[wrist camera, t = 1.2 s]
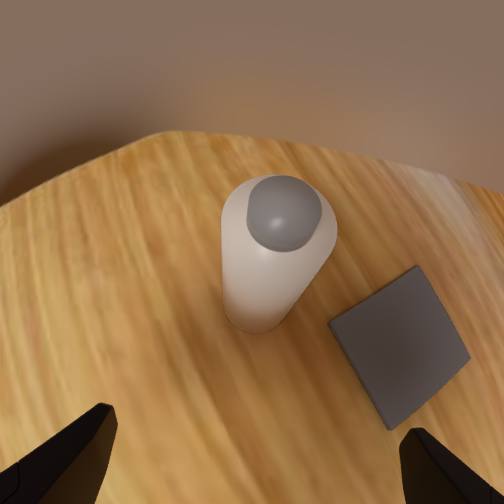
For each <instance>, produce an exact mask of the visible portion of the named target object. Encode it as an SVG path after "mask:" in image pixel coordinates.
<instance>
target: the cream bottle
mask: <svg viewBox="0 0 504 504" xmlns="http://www.w3.org/2000/svg"><path fill="white" fill-rule="evenodd" d="M221 235H222V284H223V307H224V311H225V314H226V316H227V318H228V319H229V321H230V322H231V323H232V324H233V325H234V326H235V327H237V328H238V329H240V330H242V331H244V332H247V333H253V334H259V333H265V332H268V331H270V330H272V329H274V328H275V327H276V326H278V325H279V324H280V323H281V321H282V320H283V319H284V317H285V316H286V315H287V313H288V312H289V311H290V309H291V308H292V307H293V305H294V304H295V303H296V301H297V300H298V299H299V297H300V296H301V294H302V293H303V292H304V290H305V289H306V288H307V286H308V285H309V283H310V282H311V281H312V279H313V278H314V277H315V275H316V274H317V272H318V271H319V270H320V268H321V267H322V265H323V264H324V262H325V261H326V260H327V258H328V257H329V255H330V254H331V252H332V250H333V248H334V246H335V243H336V239H337V221H336V217H335V214H334V211H333V209H332V207H331V205H330V204H329V202H328V201H327V200H326V198H325V197H324V196H323V195H322V194H321V193H320V192H319V191H318V190H317V189H315V188H314V187H313V186H311V185H310V184H308V183H306V182H304V181H302V180H300V179H297V178H294V177H291V176H286V175H277V174H271V175H263V176H258V177H255V178H252V179H250V180H247V181H246V182H244V183H242V184H241V185H239V186H238V187H237V188H236V189H235V190H234V191H233V192H232V193H231V194H230V196H229V197H228V199H227V201H226V202H225V205H224V208H223V211H222V217H221Z"/></svg>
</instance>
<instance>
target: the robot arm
mask: <svg viewBox="0 0 504 504" xmlns="http://www.w3.org/2000/svg"><path fill="white" fill-rule="evenodd" d="M117 426H118V423H117V418H116V414H115V410H114V407H113V406H112V405H109V404H105V403H98V404H97V405H95V406H94V407H93V408H91V409H90V410H89V411H87V412H86V413H85V414H83V415H82V416H80V417H79V418H78V419H76V420H75V421H74V422H72V423H71V424H69V425H68V426H67V427H65V428H64V429H63V430H61V431H60V432H58V433H57V434H56V435H54V436H53V437H51V438H50V439H49V440H47V441H46V442H44V443H43V444H42V445H40V446H39V447H37V448H36V449H35V450H33V451H32V452H30V453H29V454H28V455H26V456H25V457H23V458H22V459H20V460H19V461H18V462H16V463H14V464H13V465H12V466H10V467H9V468H7V469H6V470H4V471H2V472H1V473H0V504H95V501H96V498H97V496H98V493H99V490H100V487H101V485H102V482H103V479H104V477H105V474H106V471H107V468H108V464H109V460H110V455H111V451H112V447H113V443H114V439H115V435H116V431H117ZM399 453H400V463H401V473H402V483H403V490H404V496H405V501H406V504H504V496H503V495H502V494H500V493H499V492H498V491H497V490H495V489H494V488H493V487H492V486H490V485H489V484H488V483H487V482H486V481H485V480H483V479H482V478H481V477H480V476H479V475H477V474H476V473H475V472H474V471H473V470H472V469H470V468H469V467H468V466H467V465H466V464H464V463H463V462H462V461H461V460H460V459H459V458H457V457H456V456H455V455H454V454H453V453H452V452H450V451H449V450H448V449H447V448H446V447H445V446H444V445H442V444H441V443H440V442H439V441H438V440H437V439H435V438H434V437H433V436H432V435H431V434H430V433H428V432H427V431H426V430H425V429H424V428H421V427H419V428H412V429H410V430H409V432H408V433H407V434H406V436H405V437H404V439H403V440H402V442H401V443H400V446H399Z"/></svg>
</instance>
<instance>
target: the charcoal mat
mask: <svg viewBox="0 0 504 504" xmlns="http://www.w3.org/2000/svg"><path fill="white" fill-rule="evenodd" d="M328 325H329V327H330V329H331V330H332V332H333V334H334V335H335V337H336V339H337V341H338V342H339V344H340V346H341V348H342V349H343V351H344V353H345V354H346V356H347V358H348V360H349V361H350V363H351V365H352V367H353V368H354V370H355V372H356V374H357V375H358V377H359V379H360V381H361V383H362V384H363V386H364V388H365V390H366V391H367V393H368V395H369V397H370V399H371V400H372V402H373V404H374V406H375V408H376V409H377V411H378V413H379V415H380V417H381V418H382V420H383V422H384V424H385V426H386V427H387V429H388V430H391V431H392V430H393V429H394V428H395V427H397V426H398V425H399V424H400V423H402V422H403V421H404V420H405V419H407V418H408V417H409V416H410V415H411V414H413V413H414V412H415V411H416V410H417V409H418V408H420V407H421V406H422V405H423V404H424V403H425V402H426V401H428V400H429V399H430V398H431V397H432V396H433V395H434V394H435V393H436V392H437V391H439V390H440V389H441V388H442V387H443V386H444V385H445V384H446V383H447V382H448V381H449V380H450V379H451V378H452V377H453V376H454V375H455V374H456V373H457V372H458V371H459V370H460V369H461V368H462V367H463V366H464V365H465V364H466V363H467V362H468V361H469V360H470V359H471V357H470V355H469V353H468V351H467V349H466V347H465V345H464V343H463V342H462V340H461V338H460V336H459V334H458V332H457V330H456V328H455V326H454V325H453V323H452V321H451V319H450V317H449V316H448V314H447V312H446V310H445V308H444V307H443V305H442V303H441V301H440V300H439V298H438V296H437V295H436V293H435V291H434V290H433V288H432V286H431V285H430V283H429V281H428V280H427V278H426V276H425V275H424V273H423V272H422V270H421V268H420V267H419V265H418V266H416V267H415V268H413V269H412V270H410V271H409V272H407V273H406V274H404V275H403V276H401V277H400V278H398V279H397V280H395V281H394V282H392V283H391V284H389V285H388V286H386V287H385V288H383V289H382V290H380V291H379V292H377V293H376V294H374V295H372V296H371V297H369V298H368V299H366V300H365V301H363V302H361V303H360V304H358V305H357V306H355V307H353V308H352V309H350V310H348V311H347V312H345V313H343V314H342V315H340V316H338V317H337V318H335V319H333V320H332V321H330V322H329V323H328Z"/></svg>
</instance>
